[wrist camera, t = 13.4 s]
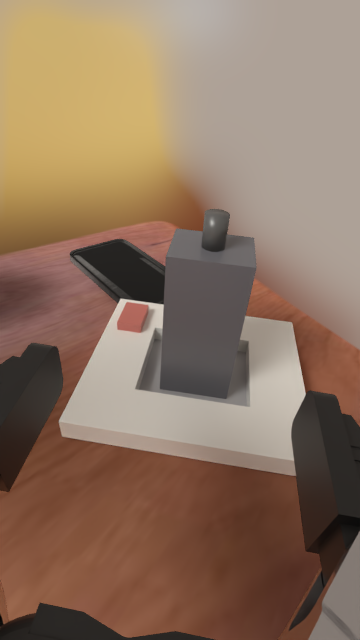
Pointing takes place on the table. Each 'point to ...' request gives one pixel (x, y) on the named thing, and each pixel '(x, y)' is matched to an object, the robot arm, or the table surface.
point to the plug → (205, 306)
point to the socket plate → (189, 396)
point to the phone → (122, 271)
